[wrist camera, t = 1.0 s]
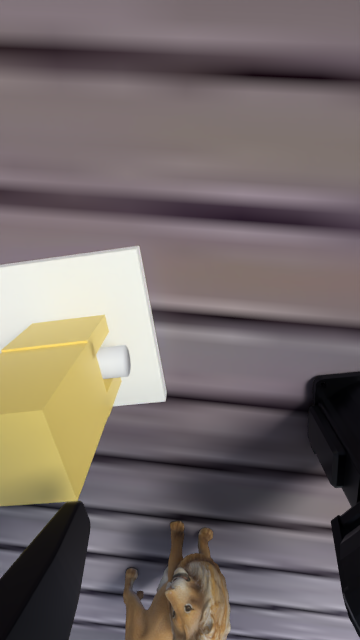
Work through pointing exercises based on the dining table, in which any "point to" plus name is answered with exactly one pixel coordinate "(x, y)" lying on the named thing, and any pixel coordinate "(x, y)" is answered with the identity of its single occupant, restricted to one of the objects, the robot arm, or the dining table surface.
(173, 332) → the dining table surface
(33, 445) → the yellow pegged block
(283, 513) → the dining table surface
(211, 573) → the lion figurine
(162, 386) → the cord rail
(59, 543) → the robot arm
